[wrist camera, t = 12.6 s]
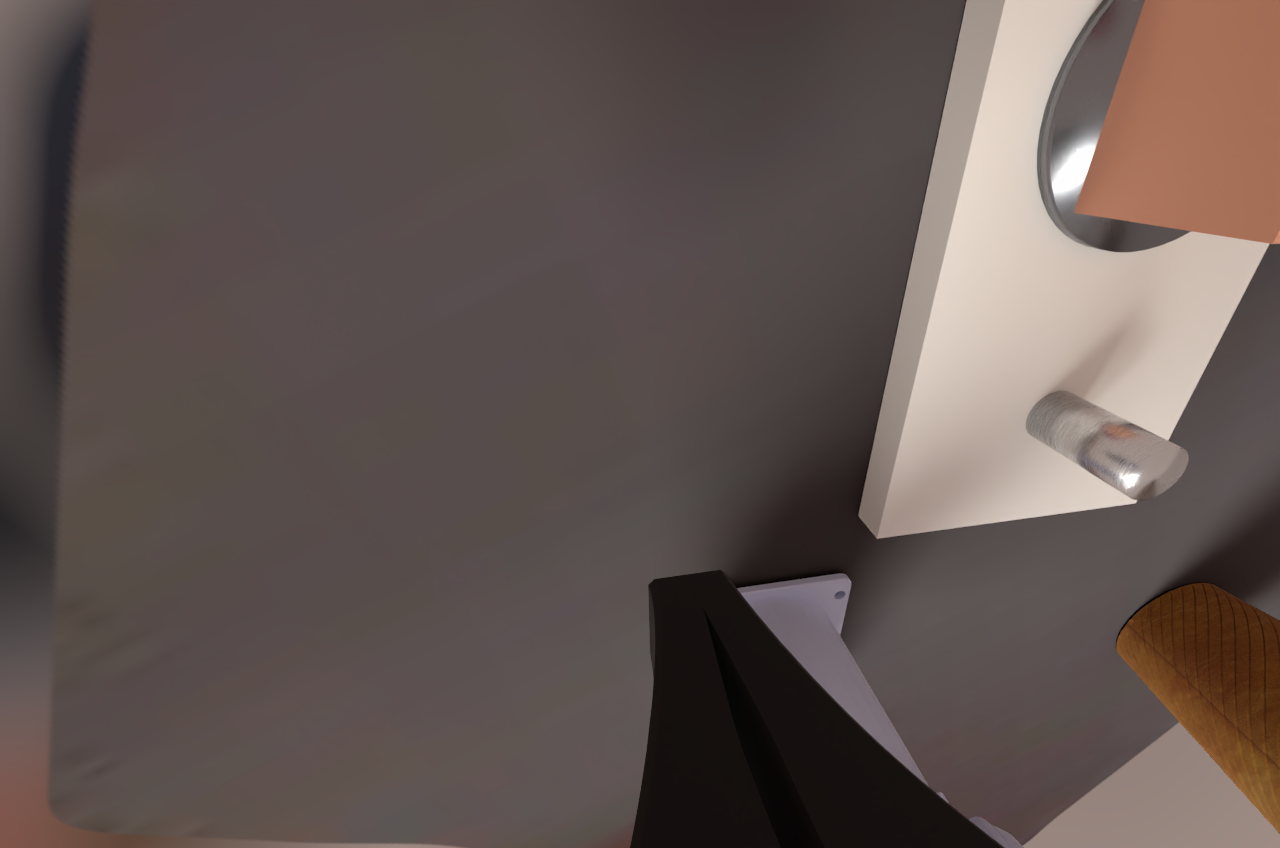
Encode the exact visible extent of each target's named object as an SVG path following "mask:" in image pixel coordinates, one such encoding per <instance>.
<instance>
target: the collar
mask: <svg viewBox="0 0 1280 848" xmlns="http://www.w3.org/2000/svg"><path fill="white" fill-rule="evenodd" d="M1074 213H1079V214H1085V215H1092V216H1098V217H1104V218H1111V219H1117V220H1123V221H1130V222H1136V223H1142V224H1149V225H1155V226H1161V227H1168V228H1174V229H1180V230H1187V231H1193V232H1199V233H1206V234H1212V235H1218V236H1225V237H1231V238H1237V239H1244V240H1250V241H1256V242H1263V243H1269V244H1280V0H1145V1H1144V4H1143V7H1142V10H1141V13H1140V16H1139V19H1138V22H1137V25H1136V28H1135V31H1134V34H1133V37H1132V40H1131V43H1130V46H1129V49H1128V52H1127V55H1126V58H1125V61H1124V64H1123V67H1122V70H1121V73H1120V76H1119V79H1118V82H1117V85H1116V88H1115V91H1114V94H1113V97H1112V100H1111V103H1110V106H1109V109H1108V112H1107V115H1106V118H1105V121H1104V124H1103V127H1102V130H1101V133H1100V136H1099V139H1098V142H1097V145H1096V148H1095V151H1094V154H1093V157H1092V160H1091V163H1090V166H1089V169H1088V172H1087V175H1086V178H1085V181H1084V184H1083V187H1082V190H1081V193H1080V196H1079V199H1078V202H1077V205H1076V208H1075V211H1074Z"/></svg>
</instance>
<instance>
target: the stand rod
mask: <svg viewBox="0 0 1280 848" xmlns="http://www.w3.org/2000/svg"><path fill="white" fill-rule="evenodd" d="M1026 430H1027V432H1028V433H1029V435H1031V436H1032V437H1034V438H1035V439H1037V440H1039V441H1040V442H1042V443H1043V444H1045V445H1047V446H1048V447H1050V448H1051V449H1053V450H1055V451H1056V452H1058V453H1059V454H1061V455H1063V456H1064V457H1066V458H1067V459H1069V460H1071V461H1072V462H1074V463H1075V464H1077V465H1078V466H1080V467H1082V468H1083V469H1085V470H1086V471H1088V472H1090V473H1091V474H1093V475H1094V476H1096V477H1098V478H1099V479H1101V480H1102V481H1104V482H1106V483H1107V484H1109V485H1110V486H1112V487H1114V488H1115V489H1117V490H1118V491H1120V492H1122V493H1123V494H1125V495H1126V496H1128V497H1130V498H1131V499H1133V500H1147V499H1150V498H1153V497H1155V496H1157V495H1159V494H1161V493H1163V492H1164V491H1166V490H1167V489H1169V488H1170V487H1171V486H1172V485H1173V484H1174V483H1175V482H1176V481H1177V480H1178V479H1179V478H1180V477H1181V475H1182V474H1183V472H1184V471H1185V469H1186V467H1187V464H1188V453H1187V451H1186V450H1185V449H1184V448H1182V447H1180V446H1178V445H1176V444H1174V443H1172V442H1170V441H1168V440H1166V439H1164V438H1162V437H1160V436H1158V435H1156V434H1154V433H1151V432H1149V431H1147V430H1145V429H1143V428H1141V427H1139V426H1137V425H1135V424H1133V423H1131V422H1129V421H1127V420H1125V419H1123V418H1121V417H1119V416H1117V415H1115V414H1113V413H1111V412H1109V411H1107V410H1105V409H1103V408H1101V407H1099V406H1097V405H1095V404H1093V403H1091V402H1089V401H1087V400H1085V399H1083V398H1081V397H1079V396H1077V395H1075V394H1073V393H1071V392H1069V391H1064V390H1063V391H1056V392H1053V393H1050V394H1048V395H1047V396H1045V397H1043V398H1042V399H1041V400H1040V401H1038V402H1037V403H1036V404H1035V406H1034V407H1033V408H1032V409H1031V411H1030V413H1029V415H1028V417H1027V420H1026Z"/></svg>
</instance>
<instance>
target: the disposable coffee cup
mask: <svg viewBox="0 0 1280 848" xmlns="http://www.w3.org/2000/svg"><path fill="white" fill-rule="evenodd" d="M1116 649H1117V652H1118V654H1119V655H1120V656H1121V657H1122V658H1123V659H1124V660H1125V661H1126V663H1127V664H1128V665H1129V666H1130V667H1131V668H1132V669H1133V670H1134V671H1135V672H1136V674H1137V675H1138V676H1139V677H1140V678H1141V679H1142V680H1143V681H1144V682H1145V684H1146V685H1147V686H1148V687H1149V688H1150V689H1151V691H1152V692H1153V693H1154V694H1155V695H1156V696H1157V697H1158V698H1159V700H1160V701H1161V702H1162V703H1163V704H1164V705H1165V706H1166V707H1167V708H1168V710H1169V711H1170V712H1171V713H1172V714H1173V715H1174V716H1175V717H1176V719H1177V720H1178V721H1179V722H1180V723H1181V724H1182V725H1183V726H1184V727H1185V728H1186V730H1187V731H1188V732H1189V733H1190V734H1191V735H1192V736H1193V737H1194V738H1195V740H1196V741H1197V742H1198V743H1199V744H1200V745H1201V746H1202V747H1203V748H1204V750H1205V751H1206V752H1207V753H1208V754H1209V755H1210V756H1211V758H1212V759H1213V760H1214V761H1215V762H1216V763H1217V764H1218V765H1219V766H1220V767H1221V769H1222V770H1223V771H1224V772H1225V773H1226V774H1227V775H1228V777H1229V778H1230V779H1231V780H1232V781H1233V782H1234V783H1235V784H1236V786H1237V787H1238V788H1239V789H1240V790H1241V791H1242V792H1243V793H1244V794H1245V795H1246V796H1247V798H1248V799H1249V800H1250V801H1251V802H1252V804H1253V805H1254V806H1255V807H1256V808H1257V809H1258V810H1259V811H1260V812H1261V813H1262V815H1263V816H1264V817H1265V818H1266V819H1267V820H1268V821H1269V822H1270V823H1271V824H1272V825H1273V826H1274V828H1275V829H1276V830H1277V831H1278V833H1280V621H1279V620H1277V619H1276V618H1274V617H1272V616H1270V615H1268V614H1266V613H1265V612H1263V611H1261V610H1259V609H1257V608H1255V607H1254V606H1252V605H1250V604H1248V603H1246V602H1244V601H1243V600H1241V599H1239V598H1237V597H1235V596H1233V595H1232V594H1230V593H1228V592H1226V591H1224V590H1223V589H1221V588H1219V587H1217V586H1216V585H1214V584H1209V583H1195V584H1190V585H1186V586H1183V587H1180V588H1177V589H1175V590H1172V591H1169V592H1168V593H1166V594H1164V595H1162V596H1160V597H1158V598H1157V599H1155V600H1153V601H1152V602H1150V603H1149V604H1147V605H1146V606H1145V607H1143V608H1142V609H1141V610H1140V611H1139V612H1137V613H1136V614H1135V615H1134V616H1133V617H1132V618H1131V619H1130V620H1129V622H1128V623H1127V624H1126V626H1125V627H1124V628H1123V630H1122V631H1121V633H1120V635H1119V637H1118V640H1117V647H1116Z"/></svg>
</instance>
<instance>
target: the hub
mask: <svg viewBox="0 0 1280 848" xmlns="http://www.w3.org/2000/svg"><path fill="white" fill-rule="evenodd" d="M1144 1H1145V0H1103V1H1102V2H1101V4H1100V5H1099V6H1098V7H1097V9H1096V10H1095V11H1094V13H1093V14H1092V15H1091V16H1090V18H1089V19H1088V21H1087V22H1086V24H1085V25H1084V27H1083V28H1082V30H1081V32H1080V33H1079V35H1078V36H1077V38H1076V39H1075V41H1074V43H1073V45H1072V46H1071V48H1070V50H1069V52H1068V54H1067V56H1066V58H1065V59H1064V61H1063V63H1062V65H1061V68H1060V70H1059V72H1058V75H1057V77H1056V79H1055V81H1054V84H1053V86H1052V89H1051V92H1050V95H1049V98H1048V101H1047V104H1046V107H1045V110H1044V115H1043V119H1042V123H1041V127H1040V133H1039V140H1038V148H1037V175H1038V185H1039V190H1040V194H1041V197H1042V201H1043V204H1044V206H1045V208H1046V211H1047V213H1048V215H1049V217H1050V218H1051V220H1052V221H1053V222H1054V224H1055V225H1056V227H1057V228H1058V229H1059V230H1060V231H1061V232H1062V233H1063V234H1064V235H1066V236H1067V237H1069V238H1070V239H1072V240H1073V241H1075V242H1077V243H1080V244H1082V245H1085V246H1087V247H1091V248H1096V249H1101V250H1106V251H1112V252H1135V251H1142V250H1147V249H1151V248H1154V247H1158V246H1161V245H1164V244H1166V243H1168V242H1171V241H1173V240H1176V239H1178V238H1180V237H1182V236H1184V235H1185V234H1187V233H1189V232H1191V231H1187V230H1180V229H1174V228H1168V227H1161V226H1155V225H1149V224H1142V223H1136V222H1130V221H1123V220H1117V219H1111V218H1104V217H1098V216H1092V215H1085V214H1079V213H1074V211H1075V208H1076V205H1077V202H1078V199H1079V196H1080V193H1081V190H1082V187H1083V184H1084V181H1085V178H1086V175H1087V172H1088V169H1089V166H1090V163H1091V160H1092V157H1093V154H1094V151H1095V148H1096V145H1097V142H1098V139H1099V136H1100V133H1101V130H1102V127H1103V124H1104V121H1105V118H1106V115H1107V112H1108V109H1109V106H1110V103H1111V100H1112V97H1113V94H1114V91H1115V88H1116V85H1117V82H1118V79H1119V76H1120V73H1121V70H1122V67H1123V64H1124V61H1125V58H1126V55H1127V52H1128V49H1129V46H1130V43H1131V40H1132V37H1133V34H1134V31H1135V28H1136V25H1137V22H1138V19H1139V16H1140V13H1141V10H1142V7H1143V4H1144Z"/></svg>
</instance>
